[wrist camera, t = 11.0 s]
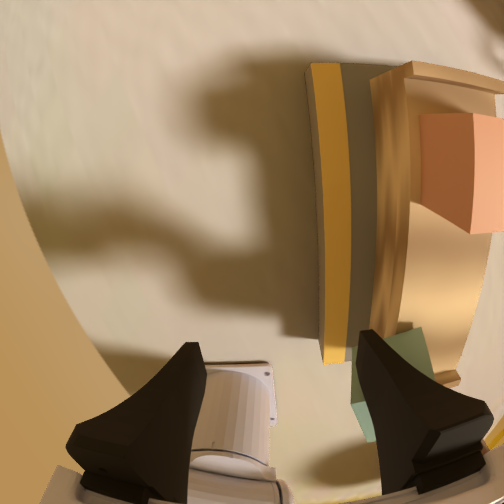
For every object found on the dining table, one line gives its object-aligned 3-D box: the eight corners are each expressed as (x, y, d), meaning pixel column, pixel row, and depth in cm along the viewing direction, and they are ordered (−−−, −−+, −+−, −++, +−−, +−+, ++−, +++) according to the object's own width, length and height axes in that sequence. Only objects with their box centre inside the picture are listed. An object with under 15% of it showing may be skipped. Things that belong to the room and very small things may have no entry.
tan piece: (429, 337, 20) (458, 385, 15) (366, 348, 20) (385, 403, 15) (448, 88, 13) (505, 82, 8) (369, 79, 14) (411, 60, 9)
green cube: (428, 373, 15) (438, 425, 11) (368, 390, 16) (367, 442, 13) (421, 326, 14) (435, 381, 10) (352, 347, 15) (350, 404, 12)
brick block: (483, 202, 11) (535, 228, 8) (420, 204, 12) (469, 234, 8) (484, 122, 10) (540, 128, 6) (418, 114, 10) (472, 113, 7)
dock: (443, 320, 23) (458, 340, 20) (318, 339, 24) (323, 364, 21) (460, 85, 15) (483, 82, 12) (304, 73, 16) (311, 63, 14)
